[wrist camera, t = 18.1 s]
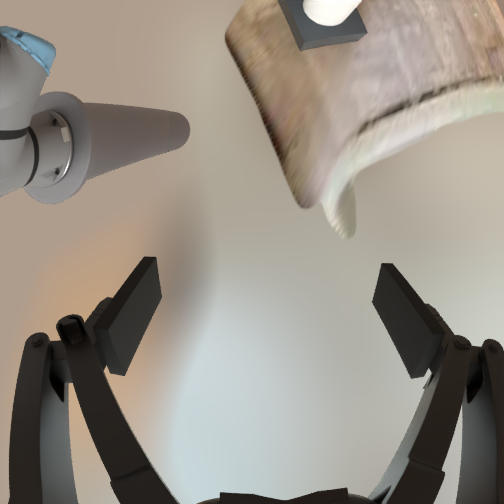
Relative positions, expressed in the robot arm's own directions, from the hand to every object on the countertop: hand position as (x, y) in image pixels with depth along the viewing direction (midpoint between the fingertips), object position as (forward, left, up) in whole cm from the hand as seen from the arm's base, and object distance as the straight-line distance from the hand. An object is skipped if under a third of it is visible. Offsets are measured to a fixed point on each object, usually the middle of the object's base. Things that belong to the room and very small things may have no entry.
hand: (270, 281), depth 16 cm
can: (+8, +28, -27) cm, 39 cm away
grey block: (+8, +28, -31) cm, 43 cm away
